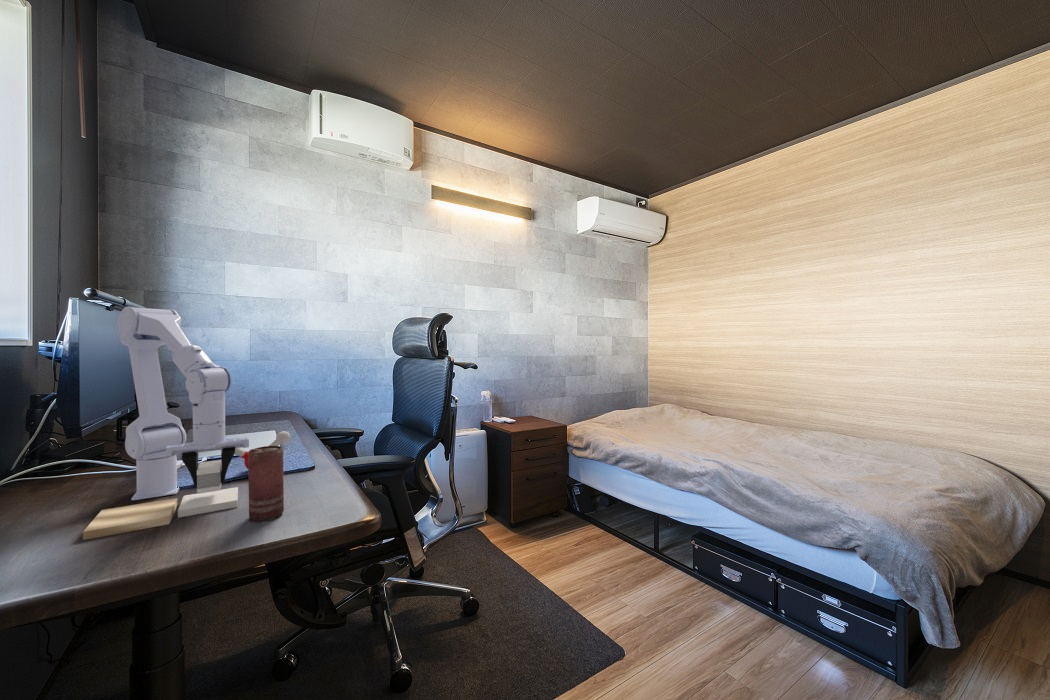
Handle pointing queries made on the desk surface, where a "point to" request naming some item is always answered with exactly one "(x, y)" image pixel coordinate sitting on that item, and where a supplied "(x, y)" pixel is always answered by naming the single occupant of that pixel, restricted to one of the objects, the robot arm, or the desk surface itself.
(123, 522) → the stand
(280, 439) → the molecular model
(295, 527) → the desk surface
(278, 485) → the can
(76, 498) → the desk surface
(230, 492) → the stand
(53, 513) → the desk surface
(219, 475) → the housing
